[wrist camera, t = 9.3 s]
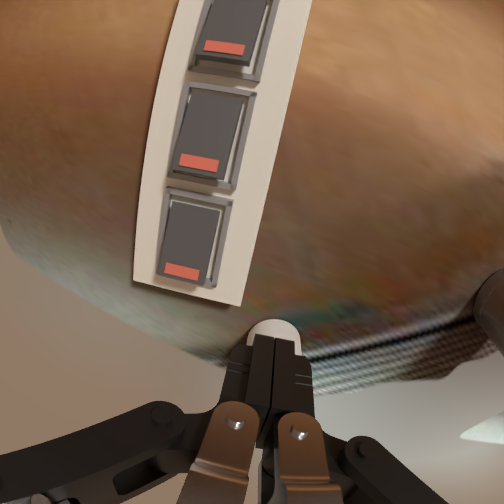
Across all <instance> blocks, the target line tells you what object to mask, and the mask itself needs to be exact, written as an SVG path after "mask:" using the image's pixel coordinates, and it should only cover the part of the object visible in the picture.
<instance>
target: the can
mask: <svg viewBox="0 0 504 504" xmlns="http://www.w3.org/2000/svg"><path fill="white" fill-rule="evenodd" d="M255 333H256V334H261V335H266V336H271V337H274V339H275V338H281V339H286V340H291V341H294V342H295V355H301V356H302V353H301V343H300V336H299V333H298V331H297V330H296V328H295V327H294V326H293V325H291V324H290V323H288V322H286V321H283V320H277V319H270V320H265V321H262V322H260V323H258V324H256V325H255V326H254V327H253V328H252V329H251V330H250V332H249V334H248V338H247V344H246V345H249V346H252V344H253V340H254V336H255Z"/></svg>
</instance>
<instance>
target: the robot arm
mask: <svg viewBox="0 0 504 504" xmlns="http://www.w3.org/2000/svg"><path fill="white" fill-rule="evenodd" d="M473 313H474V318H475V320H476V322H477V323H478V324H479V325H480V327H481V328H482V329H483V330H484V332H485V333H486V334H487V335H488V337H489V338H490V339H491V341H492V342H493V343H494V345H495V346H496V347H497V349H498V350H499V351H500V352H501V354H502V355H503V357H504V269H503V270H500V271H498V272H496V273H494V274H493V275H492V276H491V277H490V278H489V279H488V280H487V281H486V282H485V283H484V284H483V286H482V287H481V289H480V291H479V292H478V294H477V297H476V299H475V303H474V309H473ZM312 385H313V384H312V370H311V365H310V363H309V362H308V360H307V358H306V357H305V356H301V355H295V342H294V341H291V340H286V339H281V338H275V339H274V337H271V336H266V335H261V334H256V333H255V336H254V340H253V344H252V346H249V345H245V344H240V343H239V344H238V345H237V346H236V347H235V348H234V349H233V350H232V351H231V354H230V358H229V362H228V366H227V371H226V375H225V379H224V383H223V387H222V391H221V395H220V399H219V402H218V403H217V405H216V406H215V407H214V408H213V409H212V410H209V411H207V412H205V413H199V414H184V413H183V411H182V410H181V409H180V408H178V407H177V406H176V405H174V404H172V403H169V402H164V401H154V402H150V403H147V404H145V405H143V406H140V407H138V408H136V409H133V410H131V411H128V412H126V413H124V414H121V415H119V416H116V417H114V418H111V419H108V420H106V421H103V422H101V423H98V424H95V425H93V426H90V427H88V428H85V429H82V430H79V431H76V432H74V433H71V434H68V435H65V436H62V437H59V438H56V439H53V440H50V441H47V442H44V443H41V444H38V445H34V446H31V447H28V448H24V449H21V450H18V451H14V452H10V453H7V454H3V455H0V504H120V503H122V502H124V501H127V500H129V499H131V498H133V497H135V496H137V495H139V494H141V493H143V492H145V491H147V490H149V489H151V488H153V487H155V486H157V485H159V484H161V483H163V482H165V481H167V480H168V479H170V478H172V477H174V476H176V475H177V474H178V473H188V475H187V477H186V480H185V483H184V486H183V488H182V490H181V493H180V495H179V498H178V501H177V503H176V504H243V503H244V499H245V495H246V490H247V486H248V481H249V477H248V472H249V468H250V464H251V459H252V455H253V450H254V446H255V442H256V448H260V449H263V454H262V459H261V461H260V463H259V468H258V504H448V503H447V502H446V501H445V500H444V499H442V498H441V497H440V496H439V495H438V494H437V493H435V492H434V491H433V490H432V489H431V488H430V487H428V486H427V485H426V484H425V483H424V482H423V481H421V480H420V479H419V478H418V477H417V476H416V475H415V474H413V473H412V472H411V471H410V470H409V469H408V468H406V467H405V466H404V465H403V464H402V463H401V462H400V461H399V460H397V459H396V458H395V457H394V456H393V455H392V454H391V453H390V452H388V450H386V449H385V448H384V447H383V446H382V445H381V444H380V443H379V442H378V441H376V440H375V439H373V438H371V437H367V436H356V437H353V438H352V439H350V440H349V441H348V442H346V441H343V440H341V439H338V438H335V437H332V436H330V435H328V434H327V433H325V432H324V431H323V430H322V428H321V426H320V424H319V423H318V422H317V420H316V419H315V414H314V398H313V387H312Z"/></svg>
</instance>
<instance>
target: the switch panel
mask: <svg viewBox="0 0 504 504" xmlns="http://www.w3.org/2000/svg"><path fill="white" fill-rule="evenodd" d="M213 1H214V0H180V1H179V4H178V7H177V11H176V14H175V18H174V21H173V25H172V28H171V32H170V36H169V39H168V43H167V47H166V51H165V55H164V59H163V63H162V68H161V72H160V76H159V81H158V86H157V90H156V95H155V100H154V105H153V110H152V116H151V121H150V127H149V133H148V139H147V145H146V152H145V158H144V165H143V173H142V181H141V189H140V198H139V207H138V217H137V228H136V241H135V256H134V274H133V280H134V281H138V282H142V283H146V284H149V285H153V286H157V287H161V288H165V289H169V290H173V291H177V292H181V293H185V294H189V295H193V296H197V297H201V298H205V299H210V300H214V301H218V302H222V303H227V304H231V305H236V306H240V305H241V301H242V297H243V292H244V288H245V284H246V280H247V275H248V271H249V267H250V263H251V258H252V254H253V250H254V246H255V242H256V237H257V233H258V229H259V225H260V220H261V216H262V212H263V208H264V203H265V199H266V195H267V191H268V186H269V182H270V178H271V174H272V169H273V165H274V161H275V157H276V152H277V148H278V144H279V140H280V135H281V131H282V127H283V123H284V118H285V114H286V110H287V106H288V101H289V97H290V93H291V89H292V84H293V80H294V76H295V71H296V67H297V63H298V59H299V54H300V50H301V46H302V42H303V37H304V33H305V29H306V25H307V20H308V16H309V12H310V7H311V3H312V0H267V6H266V9H265V13H264V16H263V20H262V23H261V27H260V30H259V33H258V37H257V41H256V44H255V48H254V51H253V55H252V59H251V62H250V66H249V67H247V66H241V65H235V64H228V63H222V62H215V61H207V60H198V59H197V57H196V55H195V53H196V50H197V47H198V44H199V41H200V38H201V35H202V32H203V29H204V26H205V23H206V20H207V18H208V15H209V12H210V9H211V7H212V4H213ZM192 92H197V93H204V94H210V95H217V96H223V97H229V98H234V99H240V100H242V102H243V106H242V110H241V113H240V117H239V121H238V125H237V129H236V133H235V137H234V141H233V145H232V149H231V153H230V157H229V161H228V166H227V170H226V174H225V178H224V180H219V179H214V178H209V177H204V176H199V175H194V174H189V173H184V172H179V171H174V170H172V169H171V167H172V163H173V159H174V155H175V151H176V147H177V143H178V140H179V136H180V132H181V128H182V125H183V121H184V118H185V114H186V111H187V107H188V104H189V100H190V97H191V94H192ZM172 201H175V202H180V203H185V204H190V205H194V206H199V207H204V208H209V209H213V210H218V211H220V216H219V220H218V225H217V229H216V234H215V238H214V243H213V248H212V252H211V257H210V262H209V267H208V272H207V276H206V281H205V284H204V286H200V285H196V284H192V283H187V282H183V281H179V280H175V279H171V278H167V277H163V276H159V275H158V272H159V266H160V261H161V255H162V250H163V245H164V239H165V234H166V229H167V224H168V220H169V215H170V210H171V206H172Z"/></svg>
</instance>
